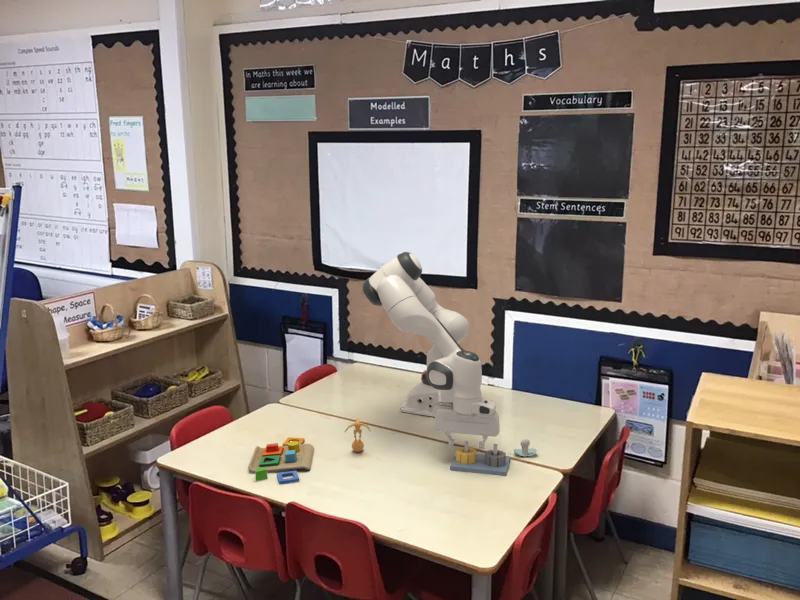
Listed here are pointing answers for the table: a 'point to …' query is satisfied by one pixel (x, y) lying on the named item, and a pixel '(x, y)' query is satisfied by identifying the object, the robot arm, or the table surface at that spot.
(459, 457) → the ochre gear
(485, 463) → the gear board
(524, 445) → the pacifier
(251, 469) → the shape sorter
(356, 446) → the figurine
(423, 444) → the table surface
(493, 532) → the table surface
